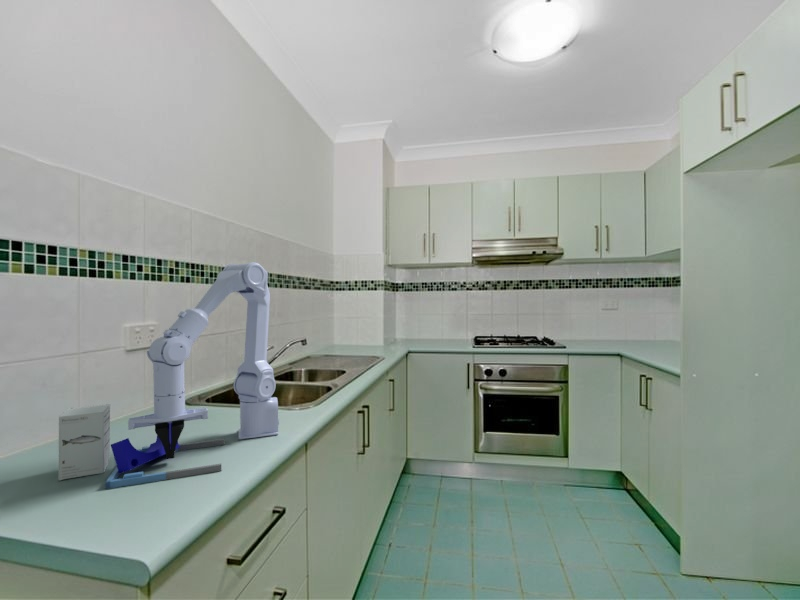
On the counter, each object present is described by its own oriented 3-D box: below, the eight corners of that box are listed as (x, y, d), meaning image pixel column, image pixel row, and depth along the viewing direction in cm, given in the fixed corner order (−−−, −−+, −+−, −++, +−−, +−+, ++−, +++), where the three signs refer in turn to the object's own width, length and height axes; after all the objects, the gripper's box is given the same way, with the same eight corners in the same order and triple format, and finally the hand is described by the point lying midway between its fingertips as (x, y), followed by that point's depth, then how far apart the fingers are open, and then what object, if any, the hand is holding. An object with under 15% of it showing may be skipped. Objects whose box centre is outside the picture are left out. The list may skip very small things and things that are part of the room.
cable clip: (164, 452, 90) (156, 427, 91) (179, 447, 89) (171, 421, 90) (113, 475, 79) (105, 446, 79) (130, 470, 78) (121, 440, 78)
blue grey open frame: (224, 443, 96) (224, 436, 96) (221, 470, 80) (221, 462, 80) (128, 456, 88) (128, 448, 88) (105, 489, 73) (104, 480, 73)
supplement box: (57, 482, 76) (56, 416, 76) (68, 467, 83) (67, 407, 83) (104, 473, 80) (103, 411, 80) (111, 460, 86) (110, 402, 86)
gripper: (206, 385, 91) (207, 444, 91) (130, 393, 84) (131, 457, 84) (208, 392, 85) (208, 455, 85) (126, 401, 78) (127, 469, 78)
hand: (170, 457), depth 84 cm, fingers closed
